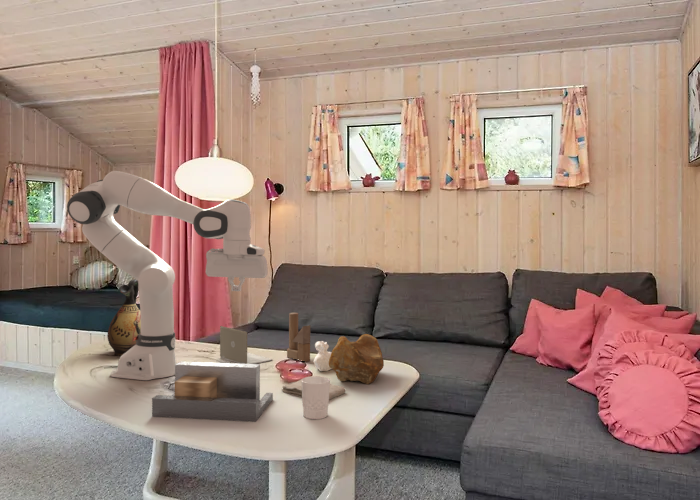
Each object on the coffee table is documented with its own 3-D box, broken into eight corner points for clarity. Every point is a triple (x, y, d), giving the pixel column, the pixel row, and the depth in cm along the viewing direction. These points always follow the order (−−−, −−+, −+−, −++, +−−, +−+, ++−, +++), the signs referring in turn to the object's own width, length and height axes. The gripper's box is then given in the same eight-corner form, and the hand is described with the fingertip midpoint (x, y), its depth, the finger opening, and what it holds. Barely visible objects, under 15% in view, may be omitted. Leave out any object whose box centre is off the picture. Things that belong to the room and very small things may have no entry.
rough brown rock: (360, 394, 175) (365, 348, 174) (320, 380, 185) (324, 337, 184) (398, 381, 194) (403, 339, 193) (360, 369, 204) (364, 329, 203)
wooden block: (302, 362, 212) (303, 316, 211) (286, 357, 220) (287, 312, 219) (310, 361, 214) (311, 315, 213) (294, 356, 222) (294, 312, 221)
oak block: (174, 413, 152) (174, 381, 152) (183, 406, 158) (183, 376, 158) (209, 415, 151) (209, 383, 151) (216, 408, 157) (216, 377, 157)
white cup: (301, 410, 156) (301, 376, 156) (328, 410, 157) (329, 375, 156) (301, 420, 148) (301, 384, 148) (330, 420, 149) (330, 383, 149)
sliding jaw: (174, 405, 159) (174, 364, 158) (180, 401, 163) (180, 361, 162) (255, 409, 156) (256, 367, 156) (259, 404, 160) (259, 364, 160)
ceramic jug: (139, 358, 215) (139, 282, 214) (100, 357, 215) (100, 281, 214) (155, 348, 232) (155, 278, 231) (119, 348, 232) (119, 277, 231)
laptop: (273, 361, 214) (273, 328, 214) (246, 366, 205) (246, 332, 205) (245, 353, 227) (245, 322, 226) (219, 358, 218) (219, 325, 217)
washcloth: (302, 384, 183) (302, 375, 183) (347, 394, 174) (347, 384, 174) (279, 393, 174) (279, 384, 173) (325, 404, 164) (325, 393, 164)
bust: (332, 371, 208) (317, 345, 211) (345, 361, 205) (330, 335, 208) (314, 378, 198) (298, 351, 201) (328, 368, 194) (312, 340, 198)
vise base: (152, 416, 150) (152, 398, 150) (180, 395, 169) (180, 379, 169) (255, 421, 147) (256, 403, 147) (272, 399, 166) (272, 383, 166)
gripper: (202, 248, 178) (202, 291, 179) (264, 250, 176) (263, 293, 177) (209, 248, 185) (209, 289, 185) (269, 249, 182) (268, 290, 183)
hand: (236, 291), depth 181 cm, fingers closed
